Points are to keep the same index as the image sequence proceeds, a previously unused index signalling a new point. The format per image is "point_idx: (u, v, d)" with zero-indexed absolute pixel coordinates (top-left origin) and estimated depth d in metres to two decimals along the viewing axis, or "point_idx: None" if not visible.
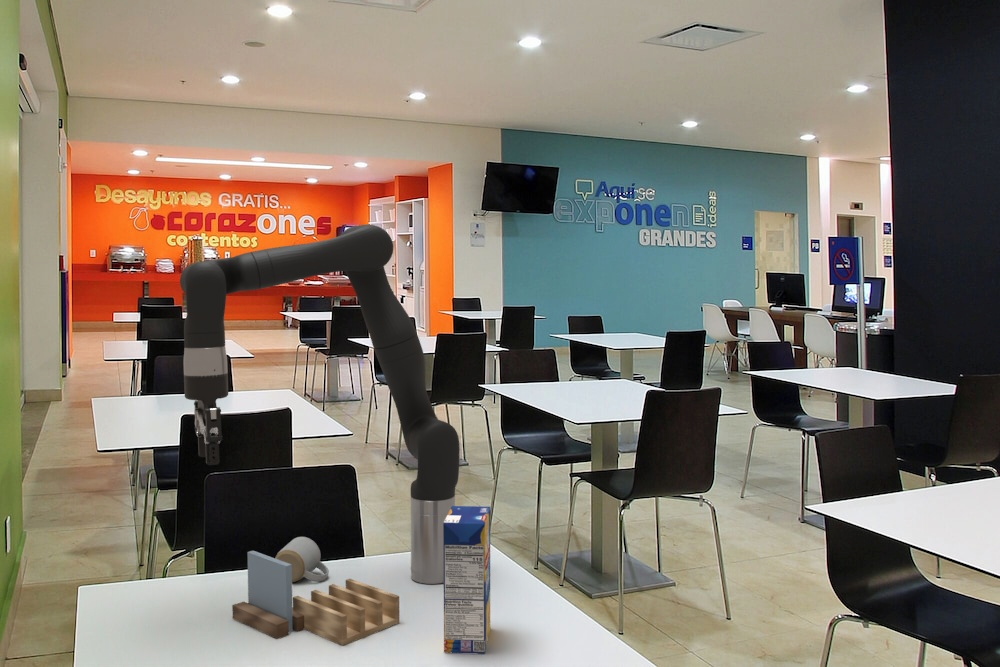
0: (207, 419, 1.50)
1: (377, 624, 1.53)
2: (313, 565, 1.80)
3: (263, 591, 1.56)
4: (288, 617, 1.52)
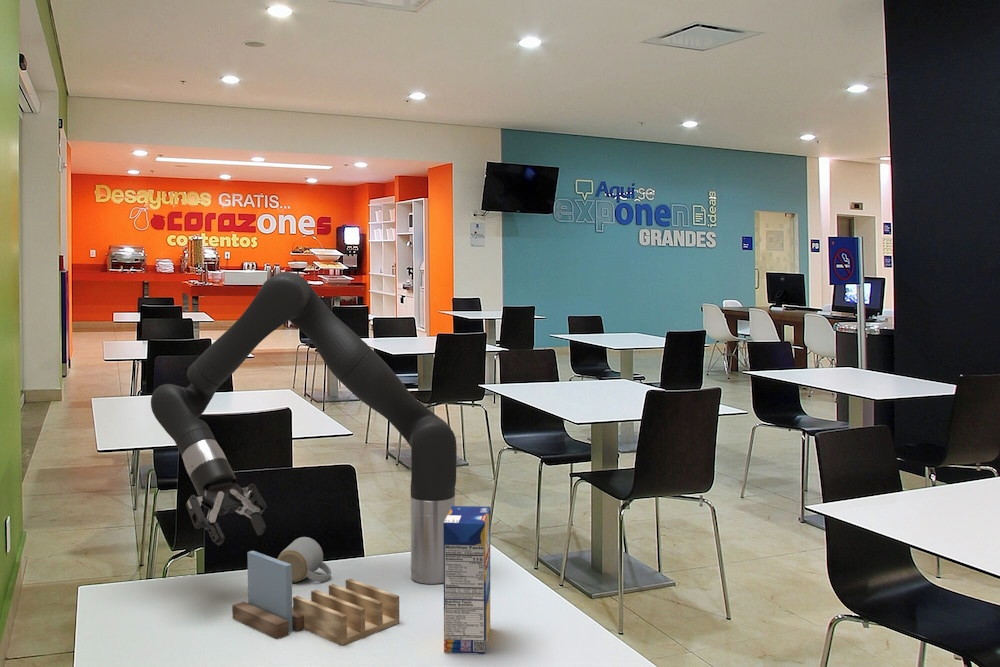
0: (188, 510, 1.60)
1: (377, 624, 1.53)
2: (315, 565, 1.80)
3: (263, 591, 1.56)
4: (288, 617, 1.52)
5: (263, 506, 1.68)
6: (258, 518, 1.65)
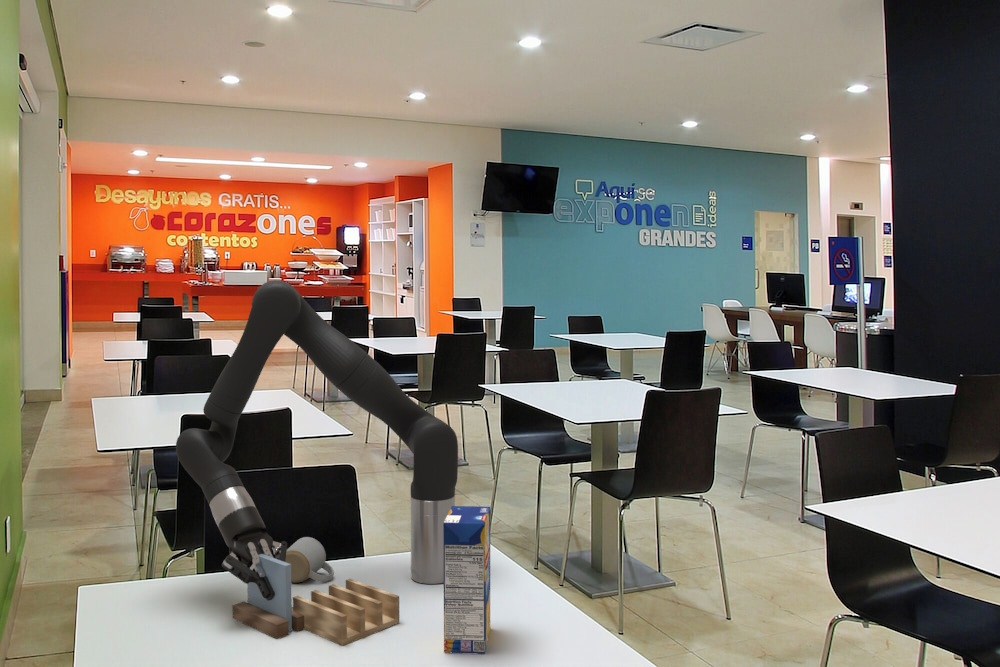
0: (229, 571, 1.54)
1: (377, 624, 1.53)
2: (318, 565, 1.80)
3: None
4: (287, 617, 1.52)
5: None
6: None
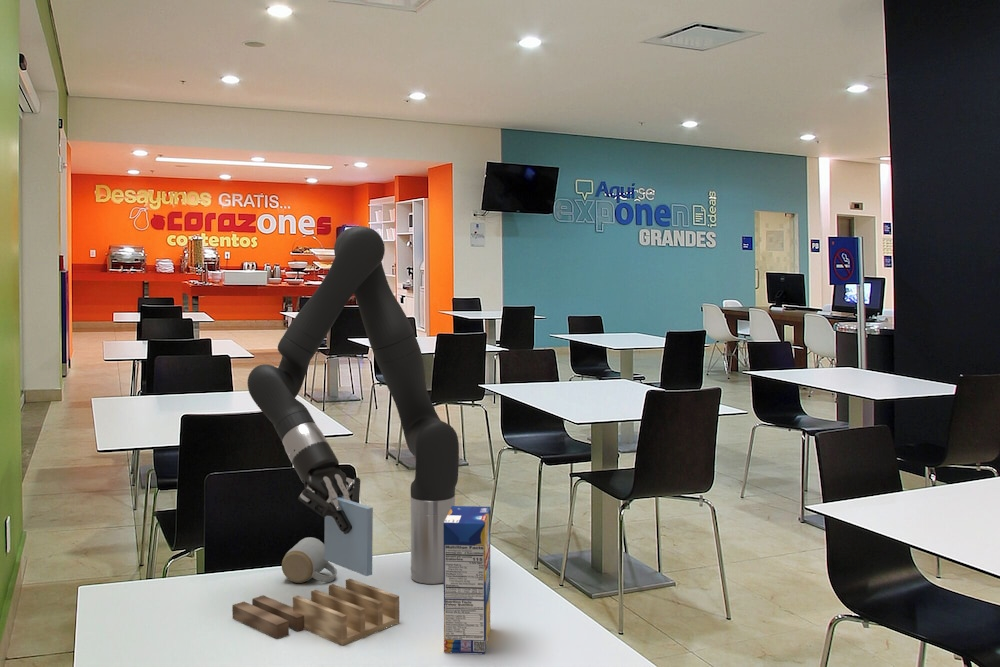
0: (306, 504, 1.53)
1: (377, 624, 1.53)
2: (321, 566, 1.80)
3: (341, 534, 1.55)
4: (368, 560, 1.51)
5: (356, 501, 1.57)
6: None
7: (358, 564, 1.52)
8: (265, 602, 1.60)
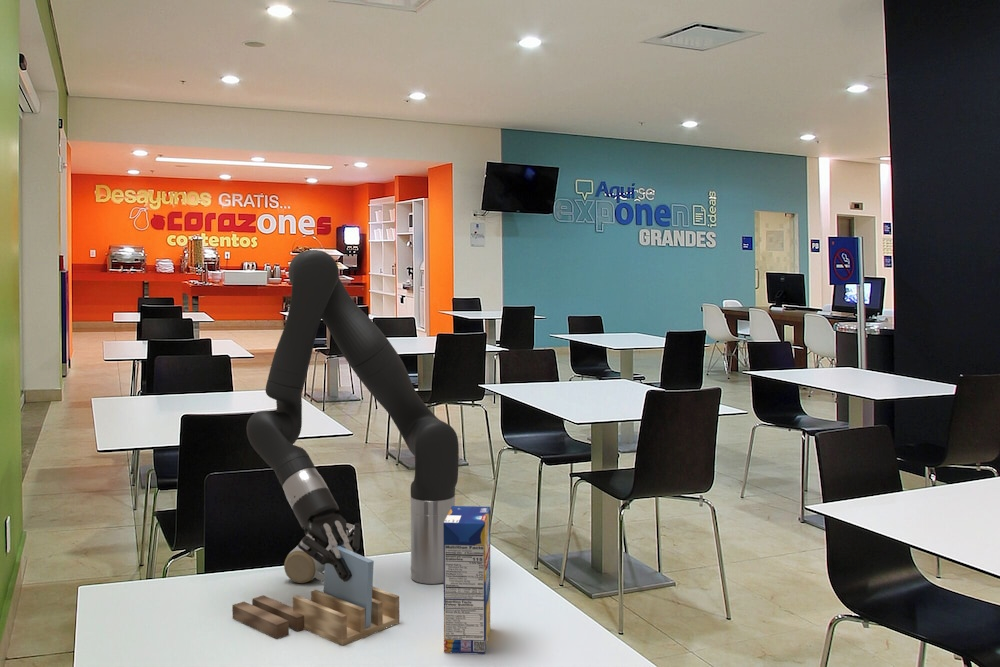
0: (306, 552, 1.54)
1: (377, 624, 1.53)
2: (324, 566, 1.80)
3: (341, 584, 1.55)
4: (367, 613, 1.51)
5: (356, 547, 1.58)
6: None
7: None
8: (265, 602, 1.60)
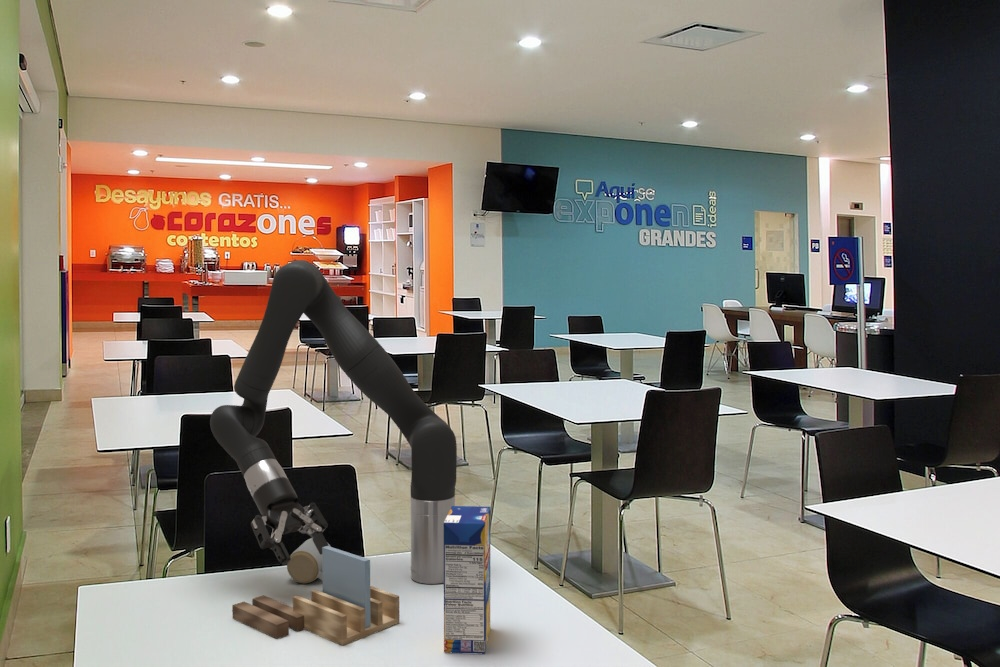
0: (253, 530, 1.62)
1: (377, 624, 1.53)
2: None
3: (339, 586, 1.56)
4: (366, 612, 1.52)
5: (324, 525, 1.69)
6: (320, 537, 1.67)
7: None
8: (265, 602, 1.60)
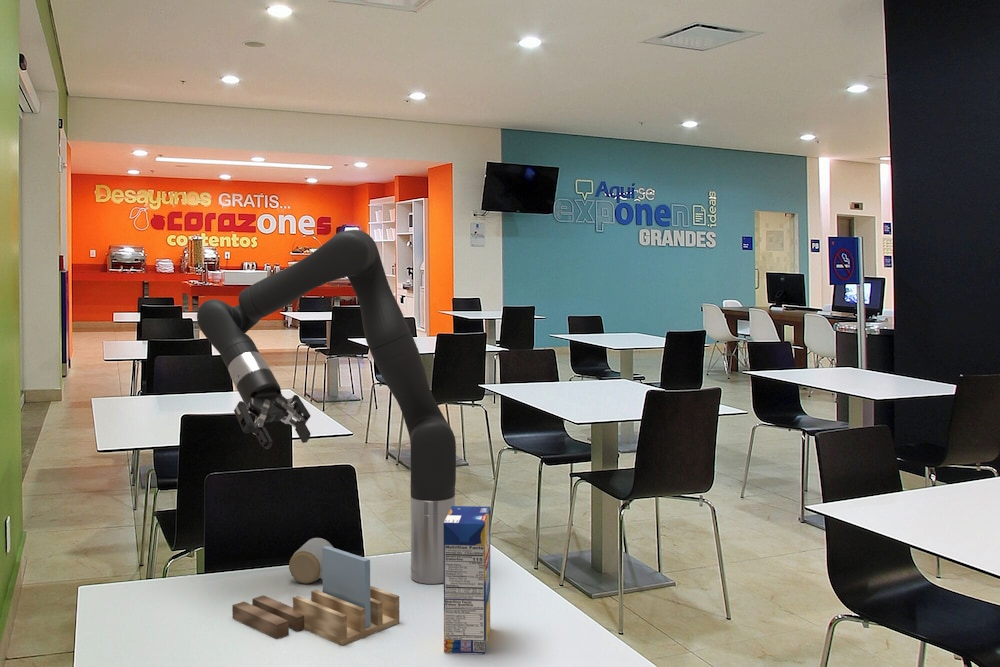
0: (236, 416, 1.65)
1: (377, 624, 1.53)
2: None
3: (339, 586, 1.56)
4: (366, 612, 1.52)
5: (307, 416, 1.72)
6: (303, 426, 1.70)
7: None
8: (265, 602, 1.60)
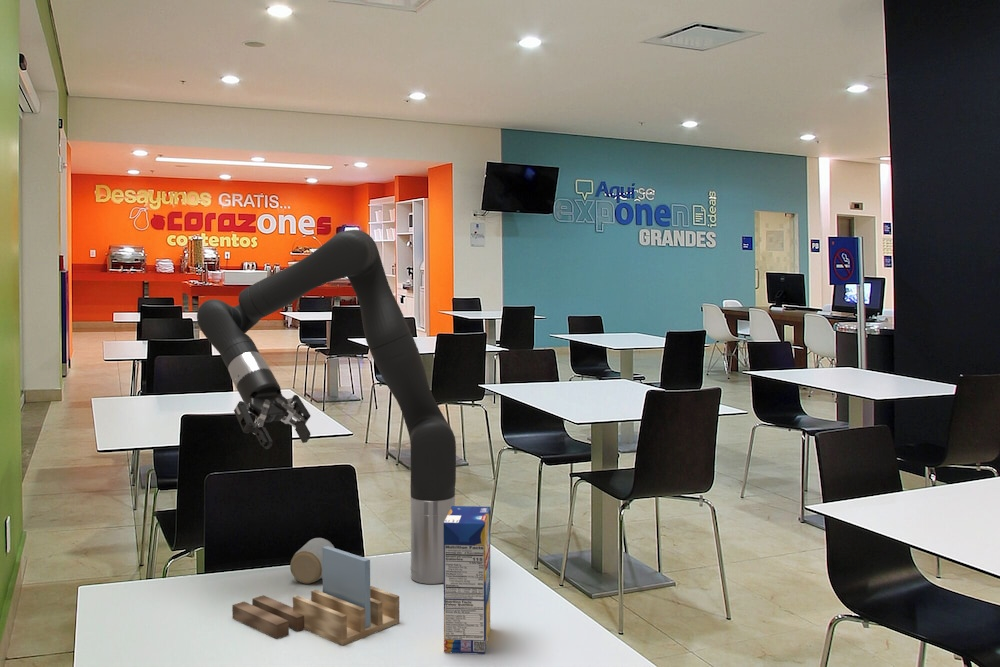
0: (236, 416, 1.65)
1: (377, 624, 1.53)
2: None
3: (339, 586, 1.56)
4: (366, 612, 1.52)
5: (307, 416, 1.72)
6: (303, 426, 1.70)
7: None
8: (265, 602, 1.60)
